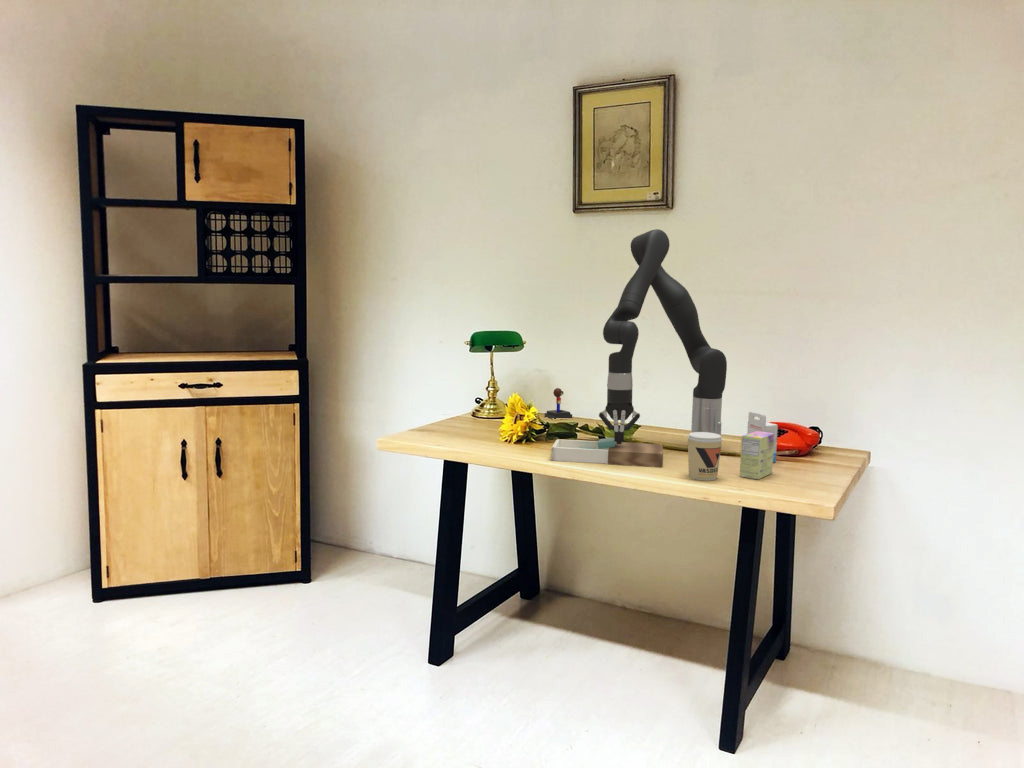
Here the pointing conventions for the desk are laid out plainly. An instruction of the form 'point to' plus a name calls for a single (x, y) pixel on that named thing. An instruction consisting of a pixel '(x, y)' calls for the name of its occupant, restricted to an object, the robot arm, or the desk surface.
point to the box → (756, 454)
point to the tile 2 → (606, 443)
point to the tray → (578, 451)
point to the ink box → (762, 428)
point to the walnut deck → (636, 454)
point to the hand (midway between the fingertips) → (619, 443)
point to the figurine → (558, 407)
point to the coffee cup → (704, 455)
